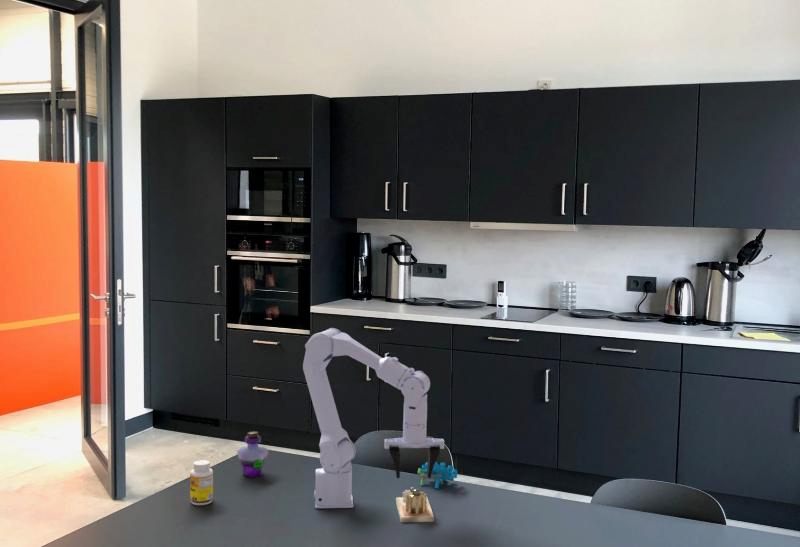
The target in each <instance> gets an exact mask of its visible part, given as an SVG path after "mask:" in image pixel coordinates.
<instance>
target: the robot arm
mask: <svg viewBox="0 0 800 547" xmlns="http://www.w3.org/2000/svg"><path fill="white" fill-rule="evenodd" d="M304 347H305V353H304V358H303V363H302V370H303V373H304V374H303V375H304V376H305V381H306V383H307V384H306V385H307V388H308V391H309V395H310V398H311V401H312V405H313V409H314V413H315V416H316V420H317V424H318V427H319V431H320V433H321V436H320V439H319V444H318V446H319V450H320V453H319V462H320V465H321V467H320V468H316V469H315V488H314V489H315V490H314V491H313V498H314V499H315V500H314V501H315V502H314V504H315V505H314V507H315V509H350V508H351V509H352V508H354V500H353V499H354V497H353V495H352V488H353V487H352V485H353V483H352V482H353V481H352V480H353V479H352V477H353V465H352V460H353V459H354V458H355V456H356V446H355V444H354V442H353V441H352V440H351V439H350V437H349V434H348V432H347V431H346V430H345V429H344V428H343V427H342V423H341V420H340V416H339V414H338V410H337V406H336V403H335V399H334V395H333V392H332V388H331V385H330V381H329V378H328V375H327V374H328V373H327V370H326V368H327V366H328V365H329V363H330V362H331V360H332V358H333V357H340V356H341V357H342V356H348V357H350V358H352V359H354V360H356V361H358V362H360V363H362V364H363V365H366V366H367V367H370V368H371V369H373V370H374V371H375V374H376V376H377V377H378V378H379V379H381V380H382V381H384V382H385V383H387V384H389V385H391V386H392V387H394V388H396V389H398V390H400V391H401V394H402V396H403V397H404V398H403V400H404V401H403V416H402V417H403V418H402V419H403V420H402V421H403V422H402V437H396V438H384V447H383V448H384V449H385V450H388V451H389V454H390V457H391V458H392V461H393V465H394V468H395V476H396V479H400V476H401V472H400V462H401V460H400V459H401V453H400V449H427V462H428V465H427V476H428V478H431V474H432V470H433V467H434V464H435V462H437V460H438V458H439V456H440V455H441V450H442V449H443V450H444V449H445V440H444V438H433V437H427V420H428V393H427V392H428V391H429V390H430V387H431V380H430V377H429V376H428V375H427V374H425V373H424V371H423V370H416V371H415V369H414V368H413V367H408V366H407V365H405V364H402V363H401V362H399V359H398V358H397V357H396V356H394V357H392V356H386V357H381V356H380V355H378V354H377V353H375V352H374V351H372V350H371V349H369V348H367V347H366V346H365V345H363V344H361V343H360V342H358V341H357V340H356V339H354V338H352V337H351V336H350V335H349V334H348V333H346V332H342V331H341V330H339V329H338V328H334V327H330V328H327V329H326V330H323V331H321V332H317V333H314V334H312V335H311V337H309V339H308V341H307V342H306V343H305V344H304Z"/></svg>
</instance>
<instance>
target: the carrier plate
mask: <svg viewBox="0 0 800 547" xmlns="http://www.w3.org/2000/svg"><path fill="white" fill-rule="evenodd" d="M395 503H396V508H397V512H398V517H399V520H400V522H401V523H433V522H435V516H434V513H433V511H432V507H431V504H430V501H429V499H428V496H427V497H426V511H425V513H419V514H414V513H411V514H410V513H408V511H406V503H405V501H403V496H402V497H400V496H399V497H395Z"/></svg>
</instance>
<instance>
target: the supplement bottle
mask: <svg viewBox="0 0 800 547" xmlns="http://www.w3.org/2000/svg"><path fill="white" fill-rule="evenodd" d="M210 464H211V462H210V461H209V460H206V459H200V460H196V461H194V462H193V468H192V469H191V470H190V472H189V473H190V475H189V476H190V480H189V488H190V490H189V493H190V494H189V496H190V498H189V500H190V503H191V504H192V505H194V506H195V505H196V506H207V505H208V504H209V505H210V504H211V503H213V498H214V470H213V469H212V468H211V466H210Z"/></svg>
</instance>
